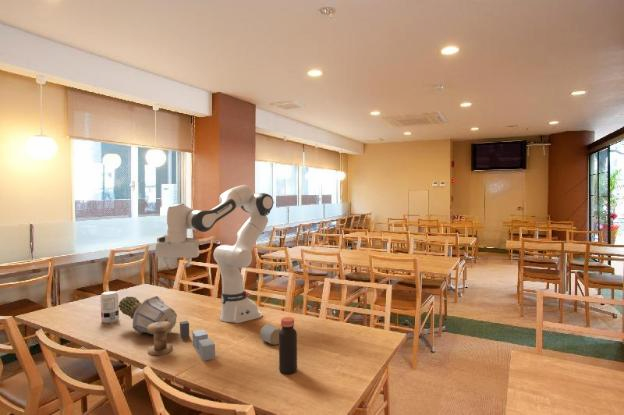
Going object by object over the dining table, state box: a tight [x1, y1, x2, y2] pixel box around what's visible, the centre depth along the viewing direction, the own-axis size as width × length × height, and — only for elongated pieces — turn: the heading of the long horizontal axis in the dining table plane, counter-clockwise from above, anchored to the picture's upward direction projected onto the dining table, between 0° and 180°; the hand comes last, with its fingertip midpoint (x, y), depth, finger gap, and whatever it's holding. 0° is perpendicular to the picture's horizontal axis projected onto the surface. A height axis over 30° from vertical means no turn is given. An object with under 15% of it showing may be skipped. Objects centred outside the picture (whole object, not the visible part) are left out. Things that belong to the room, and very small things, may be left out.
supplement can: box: [100, 290, 120, 324], centre depth 201 cm, size 8×8×15 cm
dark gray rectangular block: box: [179, 320, 190, 340], centre depth 179 cm, size 4×4×7 cm
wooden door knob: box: [147, 321, 174, 356], centre depth 164 cm, size 10×10×11 cm
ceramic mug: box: [259, 323, 281, 346], centre depth 173 cm, size 11×8×8 cm
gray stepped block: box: [192, 328, 216, 362], centre depth 163 cm, size 5×19×6 cm, turn 29°
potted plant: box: [118, 295, 178, 336], centre depth 186 cm, size 18×18×30 cm
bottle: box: [278, 316, 298, 375], centre depth 145 cm, size 7×7×20 cm
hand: (177, 266), depth 182 cm, fingers open, 8 cm apart
